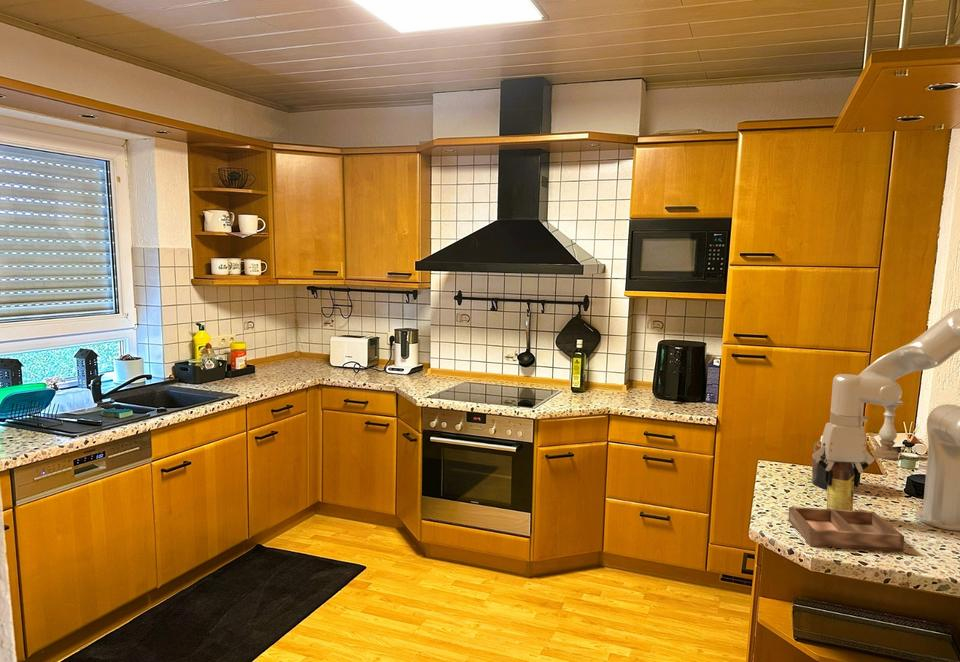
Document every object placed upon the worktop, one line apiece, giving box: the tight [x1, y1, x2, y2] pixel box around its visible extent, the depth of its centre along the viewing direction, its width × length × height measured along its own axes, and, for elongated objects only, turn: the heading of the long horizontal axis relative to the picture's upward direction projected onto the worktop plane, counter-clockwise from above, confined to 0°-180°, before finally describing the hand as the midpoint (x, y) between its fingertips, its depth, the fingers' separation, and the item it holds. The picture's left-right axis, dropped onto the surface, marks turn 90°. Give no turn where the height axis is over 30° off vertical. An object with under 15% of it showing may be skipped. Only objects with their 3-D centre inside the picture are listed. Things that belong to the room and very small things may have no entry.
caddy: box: [787, 506, 905, 553], centre depth 159 cm, size 21×15×4 cm
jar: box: [811, 434, 856, 491], centre depth 195 cm, size 12×12×15 cm
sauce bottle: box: [826, 462, 855, 510], centre depth 172 cm, size 7×6×20 cm
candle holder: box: [871, 400, 904, 460], centre depth 225 cm, size 9×9×20 cm
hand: (840, 484), depth 172 cm, fingers closed on sauce bottle, 6 cm apart
